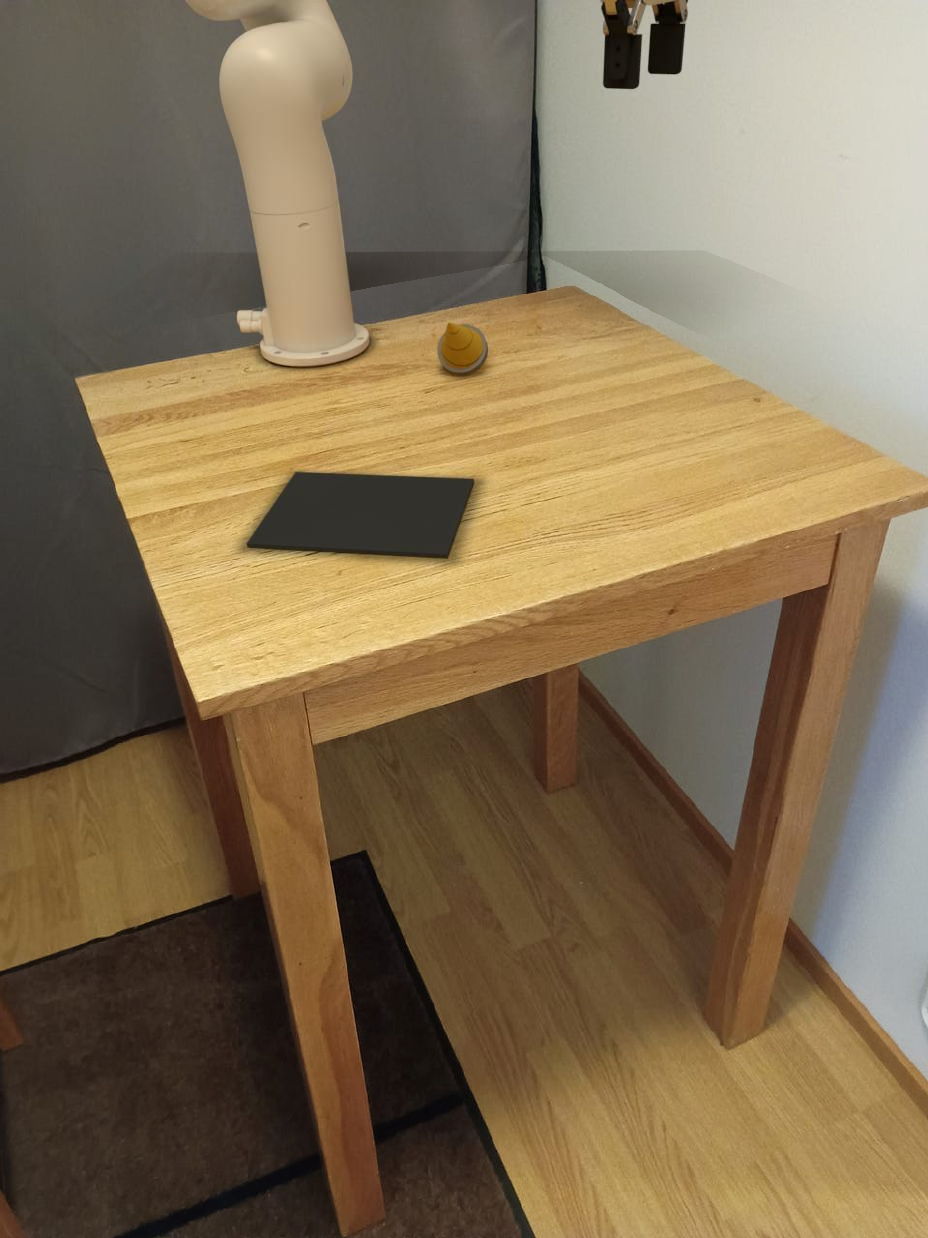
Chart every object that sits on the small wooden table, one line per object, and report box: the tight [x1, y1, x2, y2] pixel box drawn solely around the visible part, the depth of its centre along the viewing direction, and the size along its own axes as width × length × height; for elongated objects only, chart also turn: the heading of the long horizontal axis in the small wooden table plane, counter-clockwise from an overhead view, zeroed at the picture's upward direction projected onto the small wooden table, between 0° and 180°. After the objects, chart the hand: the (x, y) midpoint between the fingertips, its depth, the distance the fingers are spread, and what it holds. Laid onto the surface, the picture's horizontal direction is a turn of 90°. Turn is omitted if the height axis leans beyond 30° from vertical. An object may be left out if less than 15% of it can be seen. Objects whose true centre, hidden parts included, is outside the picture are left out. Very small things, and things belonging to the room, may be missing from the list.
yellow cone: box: [436, 322, 489, 377], centre depth 97 cm, size 5×5×10 cm
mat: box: [246, 471, 475, 559], centre depth 76 cm, size 16×12×1 cm
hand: (643, 80), depth 84 cm, fingers open, 9 cm apart
